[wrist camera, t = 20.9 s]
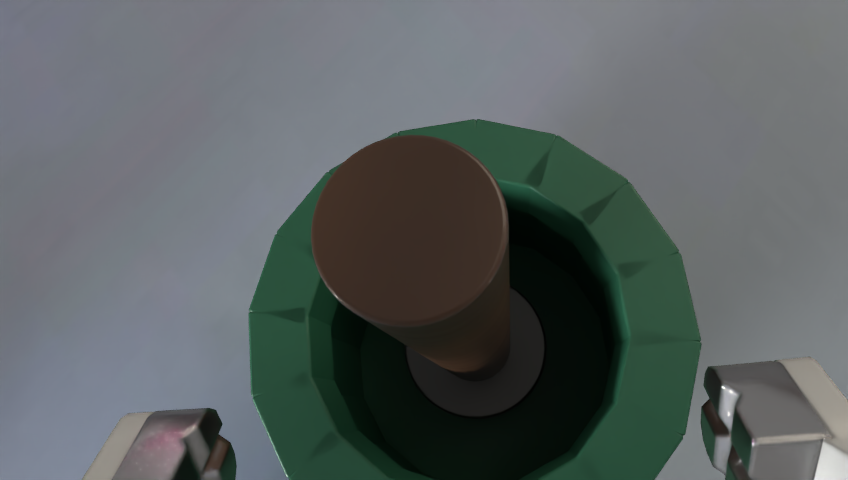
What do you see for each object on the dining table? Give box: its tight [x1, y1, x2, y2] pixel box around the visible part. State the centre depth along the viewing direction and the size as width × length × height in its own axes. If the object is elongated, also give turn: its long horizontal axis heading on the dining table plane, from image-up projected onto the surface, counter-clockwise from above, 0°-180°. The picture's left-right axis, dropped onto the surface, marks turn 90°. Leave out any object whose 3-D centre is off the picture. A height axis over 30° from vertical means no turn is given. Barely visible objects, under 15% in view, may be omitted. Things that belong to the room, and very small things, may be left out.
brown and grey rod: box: [311, 135, 547, 419], centre depth 15 cm, size 4×4×17 cm
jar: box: [249, 119, 701, 480], centre depth 19 cm, size 10×10×10 cm
